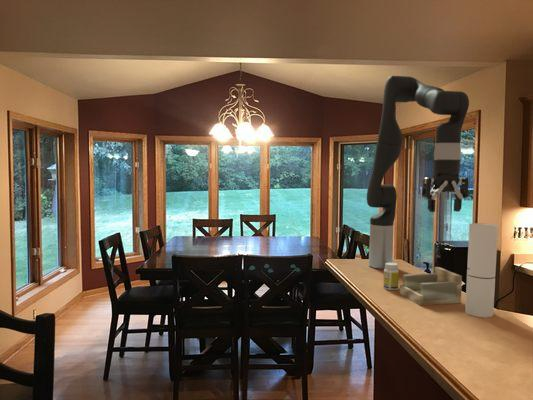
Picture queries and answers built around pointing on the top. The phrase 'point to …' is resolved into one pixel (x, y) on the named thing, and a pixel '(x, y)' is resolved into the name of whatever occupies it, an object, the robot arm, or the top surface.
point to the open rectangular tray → (432, 287)
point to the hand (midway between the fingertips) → (444, 211)
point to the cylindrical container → (481, 269)
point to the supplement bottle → (391, 276)
